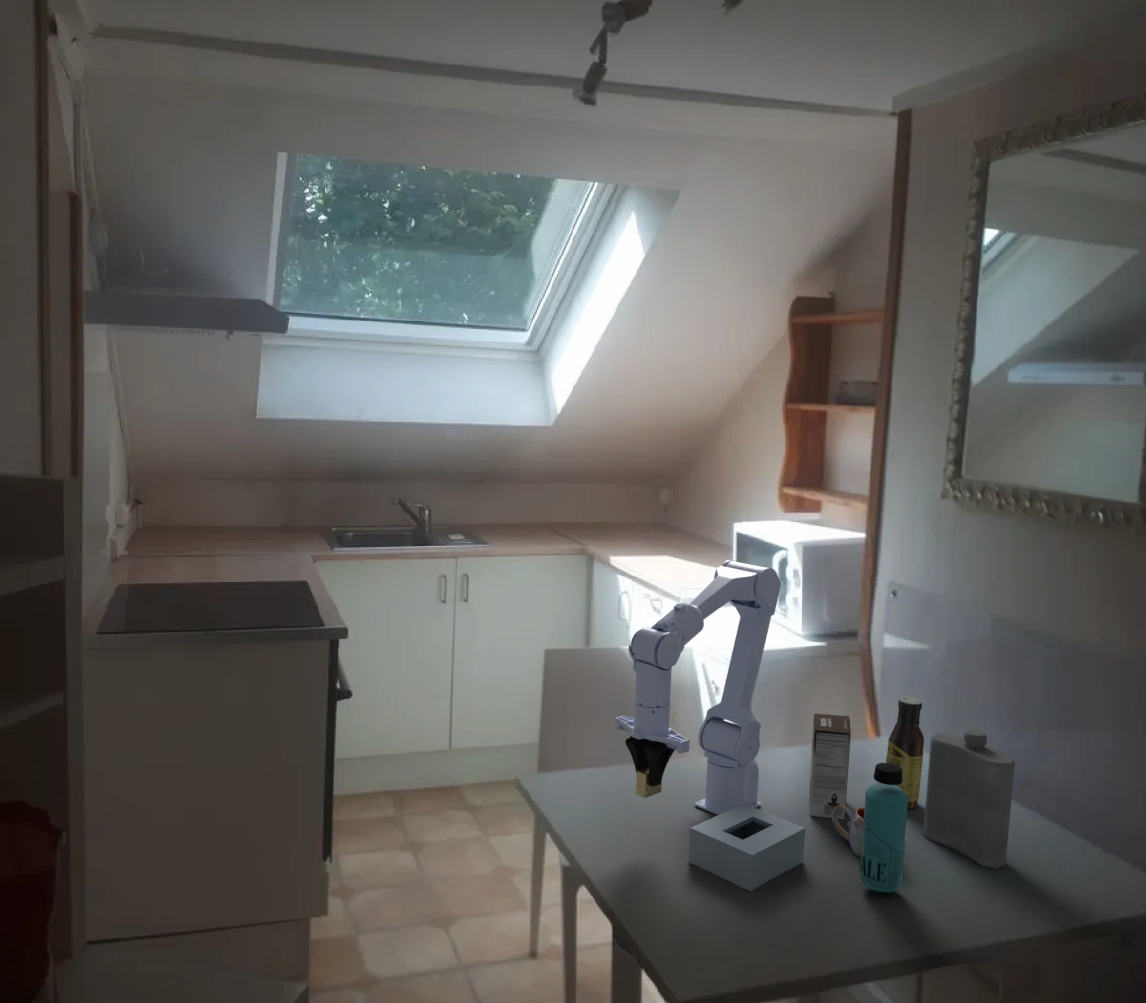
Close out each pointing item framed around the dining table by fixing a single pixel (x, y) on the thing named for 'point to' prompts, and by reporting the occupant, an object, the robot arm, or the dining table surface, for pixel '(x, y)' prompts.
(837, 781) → the coffee box
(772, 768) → the dining table surface
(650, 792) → the brass block
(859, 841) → the mug
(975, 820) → the flask
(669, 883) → the dining table surface
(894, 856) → the beverage bottle
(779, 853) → the grey block with hole
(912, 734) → the sauce bottle
